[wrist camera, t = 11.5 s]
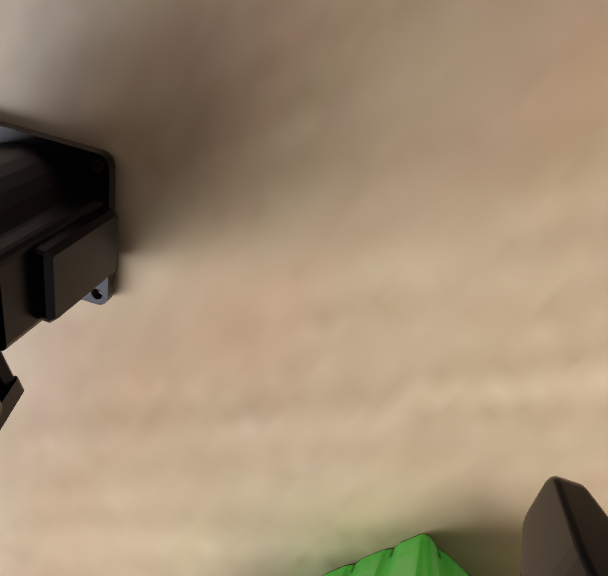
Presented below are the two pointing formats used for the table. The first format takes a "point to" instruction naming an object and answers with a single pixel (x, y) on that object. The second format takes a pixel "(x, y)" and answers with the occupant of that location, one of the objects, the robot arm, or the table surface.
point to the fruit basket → (405, 561)
